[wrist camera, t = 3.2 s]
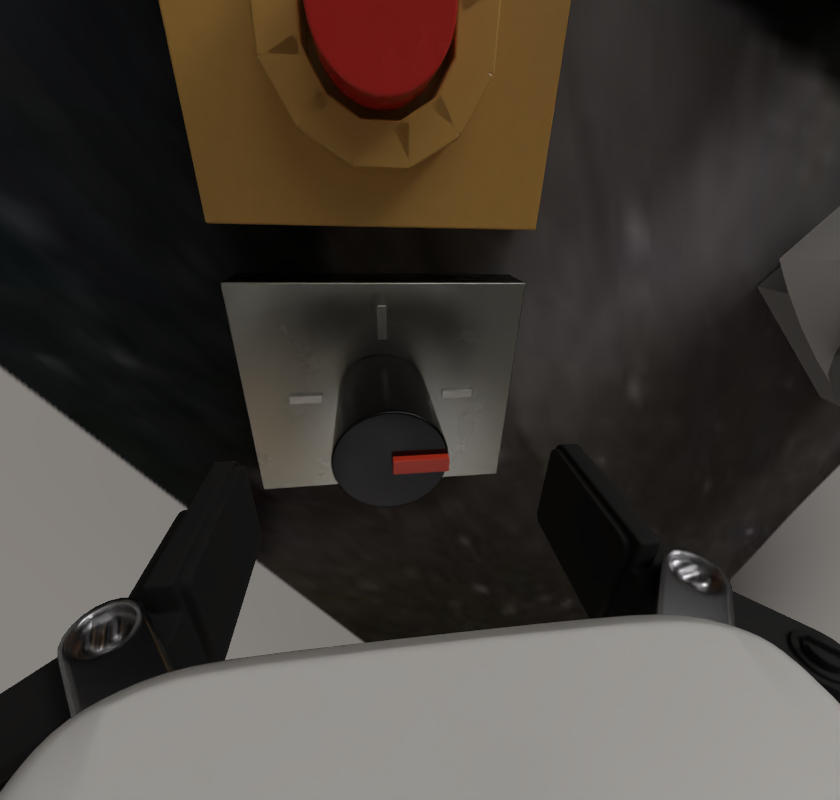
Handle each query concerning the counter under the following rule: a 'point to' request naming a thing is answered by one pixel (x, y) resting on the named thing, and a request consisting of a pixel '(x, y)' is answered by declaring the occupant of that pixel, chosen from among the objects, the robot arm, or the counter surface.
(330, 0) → the press knob
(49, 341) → the counter surface
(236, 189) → the knob block
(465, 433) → the dial plate
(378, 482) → the dial
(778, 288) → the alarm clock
